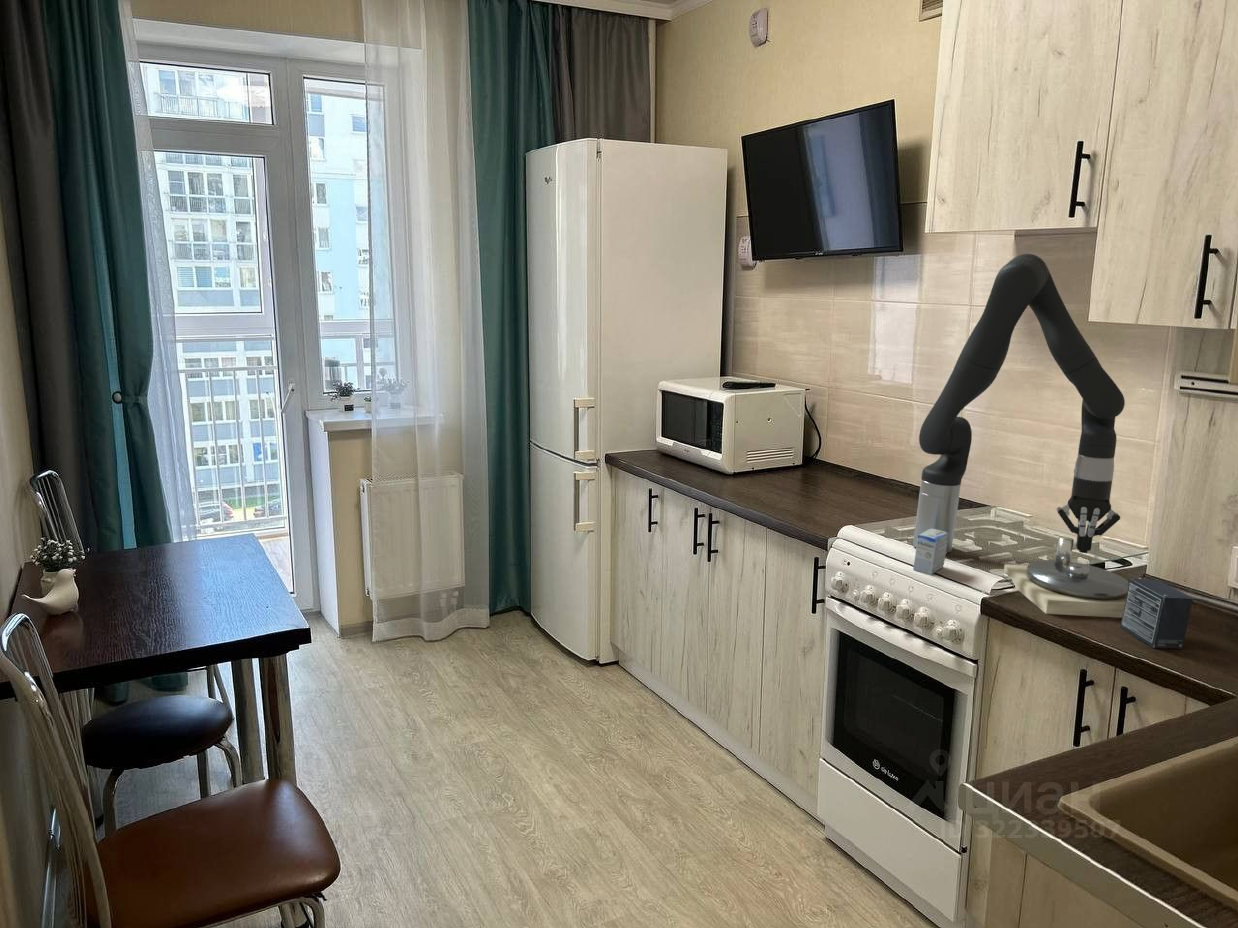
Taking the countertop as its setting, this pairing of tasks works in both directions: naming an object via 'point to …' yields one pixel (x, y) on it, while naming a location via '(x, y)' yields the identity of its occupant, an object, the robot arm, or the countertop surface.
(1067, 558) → the handwheel
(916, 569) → the medicine box
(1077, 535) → the robot arm
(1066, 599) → the wheel base
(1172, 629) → the small box
